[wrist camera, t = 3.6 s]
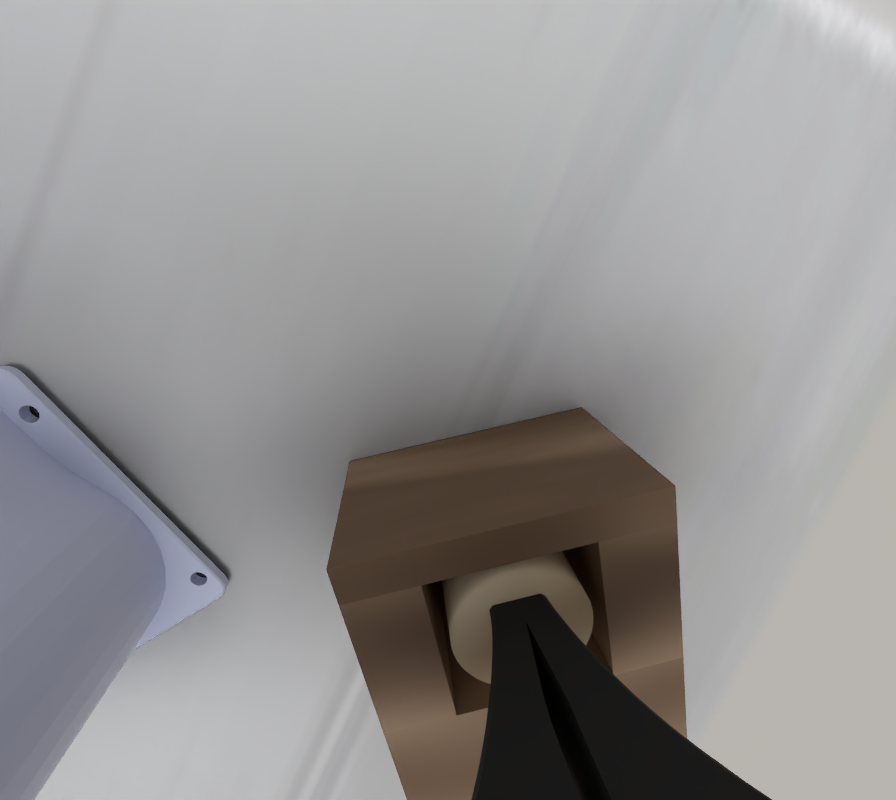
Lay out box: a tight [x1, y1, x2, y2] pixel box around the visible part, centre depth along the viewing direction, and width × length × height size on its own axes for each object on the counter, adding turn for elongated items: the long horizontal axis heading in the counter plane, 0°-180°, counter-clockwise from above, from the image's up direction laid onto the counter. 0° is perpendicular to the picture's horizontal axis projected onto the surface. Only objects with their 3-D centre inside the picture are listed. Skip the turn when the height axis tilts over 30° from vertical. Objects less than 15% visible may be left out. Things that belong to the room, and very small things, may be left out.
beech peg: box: [442, 551, 593, 684], centre depth 14 cm, size 4×4×5 cm
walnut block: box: [327, 408, 687, 800], centre depth 15 cm, size 15×8×6 cm, turn 11°
